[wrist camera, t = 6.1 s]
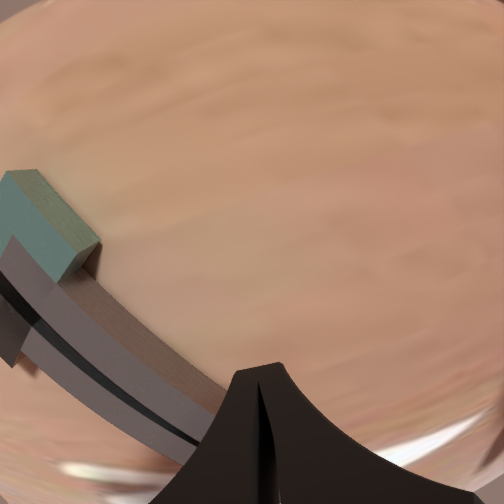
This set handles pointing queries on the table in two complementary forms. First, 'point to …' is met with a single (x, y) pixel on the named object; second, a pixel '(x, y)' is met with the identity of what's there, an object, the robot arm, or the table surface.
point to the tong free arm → (93, 305)
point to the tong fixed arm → (82, 377)
